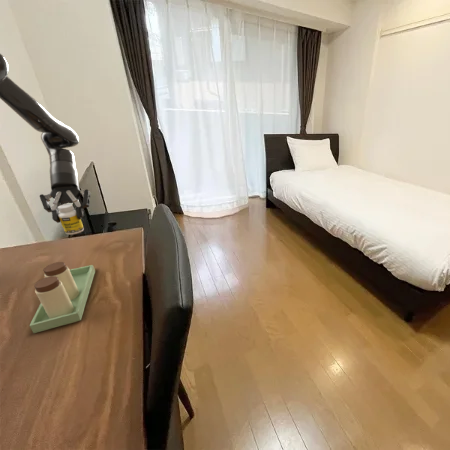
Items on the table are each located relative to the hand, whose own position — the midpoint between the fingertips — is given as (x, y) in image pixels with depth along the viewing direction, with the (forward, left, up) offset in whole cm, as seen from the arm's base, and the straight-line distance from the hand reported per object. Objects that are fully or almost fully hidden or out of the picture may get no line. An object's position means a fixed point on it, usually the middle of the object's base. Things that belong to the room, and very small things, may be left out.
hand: (68, 220), depth 92 cm
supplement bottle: (-1, +2, -5) cm, 6 cm away
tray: (+12, -26, -12) cm, 31 cm away
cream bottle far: (+14, -33, -12) cm, 38 cm away
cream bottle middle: (+12, -26, -12) cm, 31 cm away
